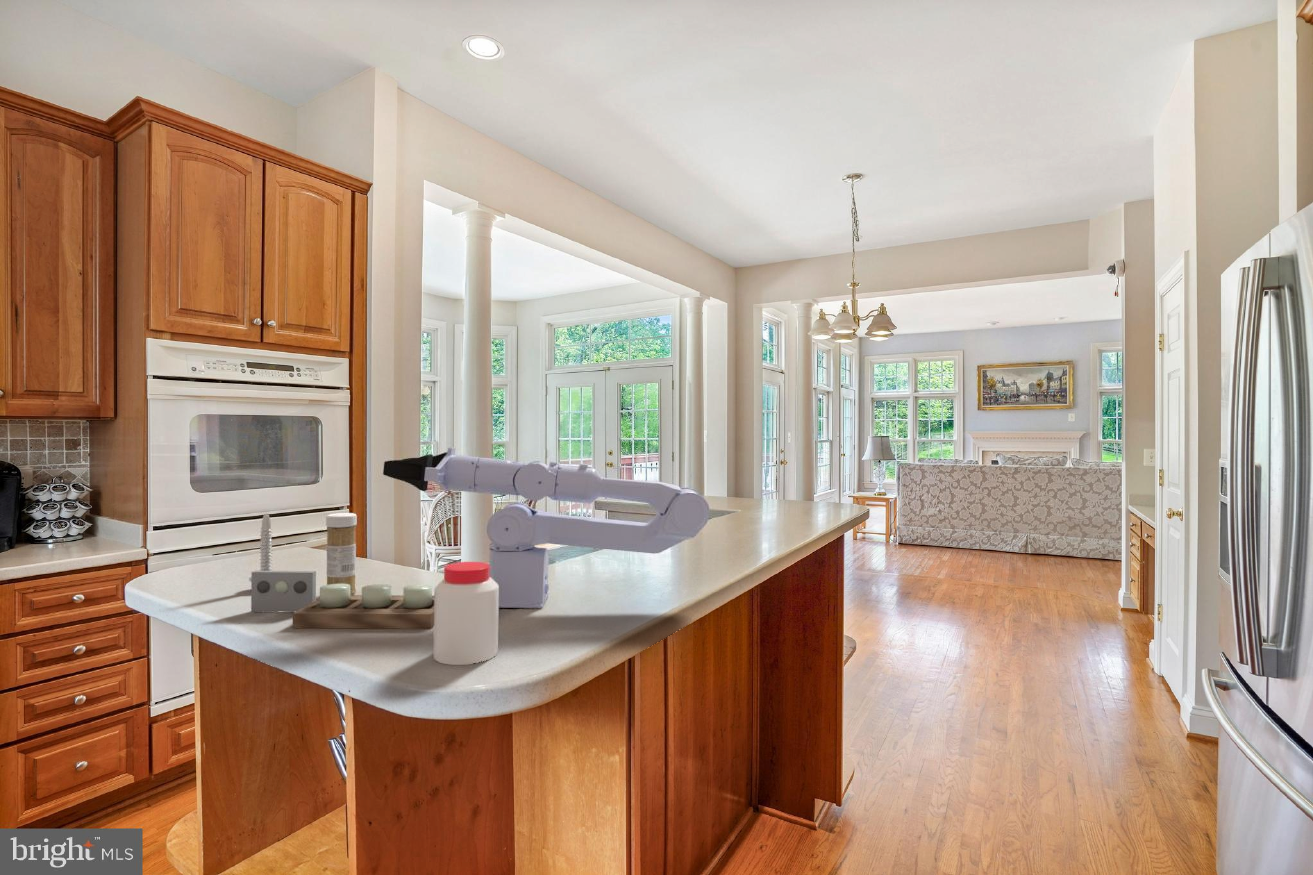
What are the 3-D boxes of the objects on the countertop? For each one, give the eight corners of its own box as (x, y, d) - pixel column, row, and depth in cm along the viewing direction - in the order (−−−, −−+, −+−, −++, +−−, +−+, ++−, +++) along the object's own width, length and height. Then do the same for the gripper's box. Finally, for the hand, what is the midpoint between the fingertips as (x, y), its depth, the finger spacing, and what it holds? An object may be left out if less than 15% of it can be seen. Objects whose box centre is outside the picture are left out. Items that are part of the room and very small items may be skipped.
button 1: (354, 600, 96) (354, 583, 96) (342, 607, 92) (342, 590, 92) (327, 600, 96) (327, 583, 96) (314, 607, 92) (314, 590, 92)
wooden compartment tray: (451, 608, 100) (451, 595, 100) (430, 628, 90) (431, 614, 90) (326, 607, 99) (327, 594, 99) (292, 627, 89) (292, 613, 89)
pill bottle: (436, 668, 75) (437, 575, 75) (430, 647, 82) (431, 562, 82) (503, 660, 78) (504, 570, 78) (492, 640, 85) (493, 558, 85)
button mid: (395, 600, 96) (395, 584, 96) (385, 607, 92) (385, 590, 92) (368, 600, 96) (368, 583, 96) (356, 607, 92) (356, 590, 92)
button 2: (435, 600, 97) (435, 584, 97) (427, 608, 93) (427, 590, 93) (408, 600, 97) (409, 584, 96) (399, 608, 93) (399, 590, 92)
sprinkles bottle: (351, 589, 110) (352, 511, 110) (359, 595, 107) (360, 514, 107) (322, 593, 107) (323, 513, 107) (329, 599, 104) (329, 516, 104)
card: (315, 610, 98) (315, 571, 97) (311, 612, 96) (312, 572, 96) (255, 610, 97) (255, 570, 97) (250, 612, 96) (250, 572, 96)
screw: (266, 585, 113) (288, 587, 111) (241, 591, 108) (264, 594, 107) (267, 510, 112) (289, 512, 111) (242, 514, 108) (265, 515, 106)
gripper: (491, 448, 111) (412, 440, 110) (469, 451, 96) (378, 442, 96) (487, 489, 111) (407, 481, 110) (464, 498, 96) (373, 489, 96)
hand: (393, 466), depth 103 cm, fingers open, 7 cm apart
